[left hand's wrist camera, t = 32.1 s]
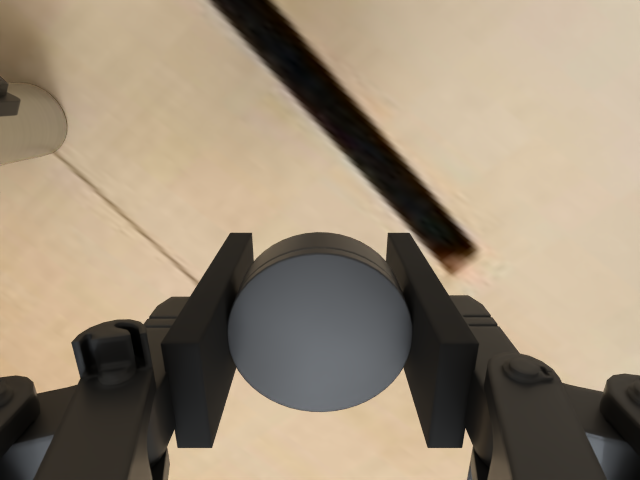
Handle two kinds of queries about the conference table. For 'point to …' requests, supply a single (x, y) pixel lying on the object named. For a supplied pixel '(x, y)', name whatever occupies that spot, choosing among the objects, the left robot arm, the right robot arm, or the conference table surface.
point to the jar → (31, 125)
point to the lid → (319, 323)
